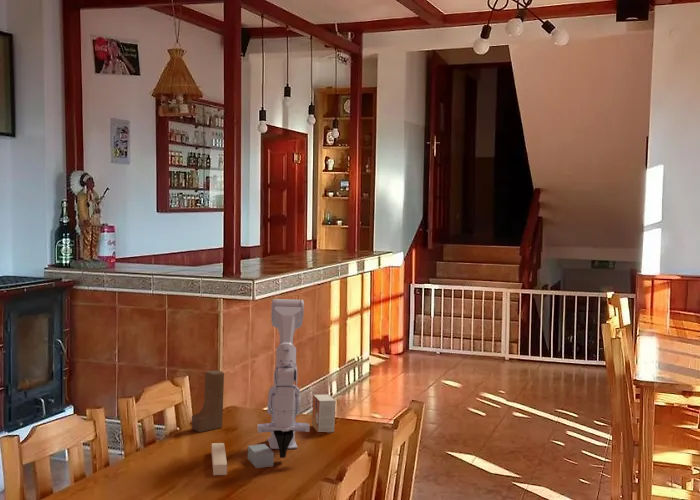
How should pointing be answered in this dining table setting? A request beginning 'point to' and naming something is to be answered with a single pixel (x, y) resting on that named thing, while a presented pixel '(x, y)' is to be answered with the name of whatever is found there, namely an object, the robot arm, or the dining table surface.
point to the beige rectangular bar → (219, 459)
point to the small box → (323, 413)
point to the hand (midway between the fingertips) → (282, 456)
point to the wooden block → (211, 403)
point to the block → (260, 455)
